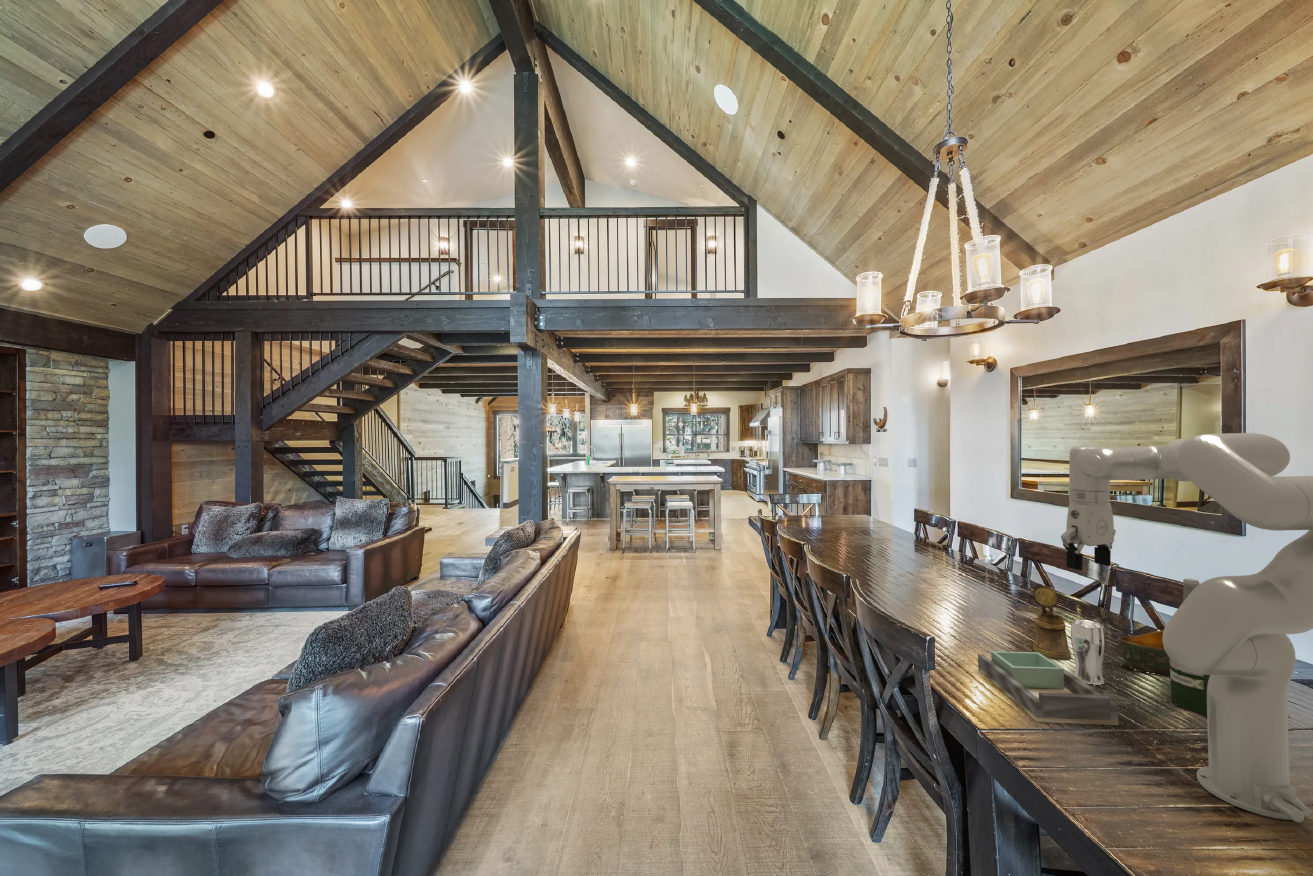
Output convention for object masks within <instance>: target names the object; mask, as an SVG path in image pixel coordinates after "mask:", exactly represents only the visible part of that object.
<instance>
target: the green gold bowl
mask: <svg viewBox="0 0 1313 876" xmlns="http://www.w3.org/2000/svg"><path fill="white" fill-rule="evenodd" d="M1163 631H1164V629H1163V630H1159V631H1152V632H1147V633H1144V634H1139V635H1138V634H1137V635H1122V636H1118V637H1117V646H1118V651H1119V653H1120V655H1121V658H1122V659H1123V660H1124V662H1125V663H1126V664H1128V667H1129V668H1130V667H1131V668H1133V669H1136V670H1140V671H1143V672H1149V673H1155V674H1160V675H1159V676H1164V675H1170V658H1169V656H1168V655H1167V653H1166V651H1165V649H1164V646H1163V639H1162V638H1163ZM1131 668H1130V669H1131ZM1133 669H1132V670H1133ZM1155 674H1154V675H1155Z"/></svg>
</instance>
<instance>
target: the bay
mask: <svg viewBox="0 0 1313 876" xmlns="http://www.w3.org/2000/svg"><path fill="white" fill-rule="evenodd" d="M1046 658H1047V657H1046ZM1048 659H1049V660H1051V658H1048ZM1051 661H1052V662H1054V661H1053V660H1051ZM1054 663H1055V662H1054ZM1055 664H1057V663H1055ZM1057 665H1058V664H1057ZM1058 666H1060V665H1058ZM977 667H978V669H977V670H978V672H980V673H981V674H982V675H983V676H984V677H985V678H986V677H987V678H986V679H988V680H989V681H990V682H991V683H992V684H993V685H994V684H995V685H994V686H995V687H996V688H998V690H1000V691H1001V692H1002V691H1003V692H1002V693H1003V694H1004V693H1005V694H1004V695H1006V697H1008V698H1009V697H1010V698H1011V699H1012V700H1011V699H1010V698H1009V699H1010V700H1011V701H1012V702H1013V701H1014V702H1013V703H1015V704H1016V705H1017V706H1018V707H1019V708H1020V709H1021V710H1022V711H1024V712H1025V713H1026V715H1028V716H1029V717H1031V719H1033V720H1034V721H1035V722H1036V723H1056V724H1057V723H1059V724H1076V725H1077V724H1082V725H1102V724H1103V726H1104V725H1105V726H1107V725H1108V726H1119V704H1117V703H1116V702H1114V701H1113V700H1111V697H1109V696H1108V695H1107V694H1102V693H1101V692H1100V691H1098V690H1096V689H1094V688H1093V687H1092V686H1091V685H1089V684H1086V683H1084V682H1083V681H1081V680H1080V679H1078V678H1077V677H1075V676H1074V674H1072V673H1071V672H1069V671H1068V670H1066V669H1064V668H1063V667H1061V666H1060V667H1061V668H1063V670H1064V689H1052V688H1025V687H1023V686H1022V685H1021V684H1020V683H1019V682H1017V681H1016V680H1015V679H1014V678H1012V677H1011V676H1010V675H1009V674H1007V673H1006V672H1005V671H1004V670H1002V669H1001V668H1000V667H999V666H998V665H996V664H995V663H994V662H993V661H991V659H990V658H989V657H988V656H986V654H984V653H978V654H977Z"/></svg>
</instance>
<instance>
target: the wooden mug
mask: <svg viewBox="0 0 1313 876" xmlns="http://www.w3.org/2000/svg"><path fill="white" fill-rule="evenodd" d="M1033 597H1034V601H1035V603H1036V604H1038V605H1039V606H1040V607H1041V613H1038V614H1037V618H1036V620H1035V624H1036V629H1035V630H1036V631H1035V638H1034V642H1033V644H1032V650H1033V652H1039V653H1040V654H1042V655H1043V656H1045V657H1047V658H1048V659H1050V660H1051V659H1052V660H1061V661H1065V660H1070V659H1072V653H1071V650H1070V647H1069V643H1068V638H1067V637H1068V636H1067V634H1066V622H1065V621H1064V617H1062V616H1061V615H1058V614H1057V615H1056V614H1054V609H1053V608H1055V607H1056V606H1058V604H1059V595H1058V593H1057V592H1056V591H1055V590H1053V589H1052V588H1051V587H1049V586H1047V585H1042V586H1040V587H1038V588H1037V589H1035V591H1034V595H1033Z"/></svg>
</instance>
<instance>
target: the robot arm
mask: <svg viewBox="0 0 1313 876" xmlns="http://www.w3.org/2000/svg"><path fill="white" fill-rule="evenodd" d="M1068 457H1069V463H1068V465H1069V468H1068V469H1069V473H1068V474H1069V476H1068V477H1069V478H1068V481H1069V482H1068V485H1069V489H1068V494H1069V495H1068V497H1069V498H1068V502H1069V504H1068V509H1067V517H1066V529H1065V531H1064V532H1063V533H1062V534H1061V536H1060V539H1061V542H1062V545H1063V548H1064V551H1065V552H1066V568H1069V569H1073V570H1075V571H1083V553H1082V550H1083V548H1084V546H1087V547H1094V550H1093V552H1094V559H1093V560H1094V561H1093V562H1094V563H1095V564H1097V565H1102V566H1105V567H1111V562H1112V561H1111V558H1112V555H1111V553H1112V549H1113V543H1114V542H1115V535H1116V529H1115V523H1114V514H1113V509H1112V505H1111V502H1110V501H1111V499H1110V498H1111V481H1125V480H1126V481H1127V480H1131V481H1135V480H1137V481H1138V480H1140V481H1141V480H1171V479H1172V480H1175V481H1180V482H1191V483H1192V484H1193V485H1194V486H1196V487H1197V488H1198V489H1200V491H1202V492H1203V493H1204V494H1206V495H1207V496H1208V497H1210V498H1211V499H1212V500H1214V501H1215V502H1216V503H1217V504H1219V505H1220V506H1221V507H1222V508H1224V510H1226V511H1228V512H1229V513H1230V514H1231V515H1233V517H1235V518H1237V519H1238V520H1240V521H1241V522H1243V523H1245V524H1247V525H1249V526H1251V527H1255V528H1258V529H1262V530H1268V531H1275V532H1276V531H1279V532H1280V531H1282V532H1283V531H1306V533H1304V534H1303V535H1302V536H1301V535H1300V537H1297V538H1296V539H1295V540H1293V541H1291V542H1290V543H1288V544H1286V545H1285V546H1283V548H1281V549H1280V550H1279V551H1278V552H1277V553H1276V554H1275V556H1273V558H1272V560H1270V562H1269V563H1268V564H1266V566H1264V568H1263V569H1261V570H1259V572H1256V573H1253V574H1246V575H1226V576H1224V575H1223V576H1217V577H1216V576H1215V577H1212V578H1209V579H1207V580H1204V581H1203V582H1201V583H1200V584H1199V585H1198V586H1196V587H1195V588H1194V589H1193V590H1192V592H1191V593H1190V594H1189V595H1188V597H1187V598H1186V599H1185V600H1184V602H1183V601H1182V603H1181V604H1180V606H1179V607H1178V608H1177V610H1176V611H1175V612H1173V613H1174V614H1173V615H1172V616H1171V618H1170V619H1169V620H1168V621H1167V623H1166V625H1165V627H1164V629H1163V630H1164V631H1163V630H1162V631H1163V638H1162V639H1163V646H1164V649H1165V651H1166V653H1167V655H1168V656H1169V658H1170V659H1171V660H1172V661H1173V662H1174V663H1175V664H1177V665H1178V666H1180V667H1181V668H1183V669H1185V670H1187V671H1190V672H1193V673H1197V674H1203V675H1210V677H1209V680H1208V685H1207V714H1206V715H1207V716H1206V717H1207V718H1206V719H1207V750H1208V751H1207V752H1208V753H1207V755H1208V766H1203V767H1200V768H1198V770H1196V771H1197V772H1196V779H1197V781H1198V783H1199V784H1200V785H1201V787H1202V788H1204V789H1205V790H1206V791H1207V792H1209V793H1211V795H1214V796H1215V797H1216V798H1218V799H1221V800H1222V801H1224V802H1225V803H1228V804H1231V805H1233V806H1234V807H1236V808H1240V809H1242V810H1244V811H1247V812H1249V813H1250V812H1251V813H1254V814H1255V815H1260V816H1263V817H1268V818H1271V819H1280V820H1288V821H1294V822H1296V823H1302V822H1303V821H1304V820H1305V817H1310V816H1311V815H1312V814H1313V811H1312V809H1311V808H1310V807H1308V806H1307V805H1305V804H1304V803H1303V802H1302V801H1301V800H1300V798H1298V797H1297V789H1296V788H1295V787H1293V786H1292V785H1290V756H1289V755H1290V754H1289V752H1290V751H1289V747H1290V746H1289V690H1290V683H1291V680H1292V676H1293V673H1294V670H1295V669H1294V668H1295V665H1296V658H1297V657H1296V650H1295V646H1294V644H1293V642H1292V641H1291V639H1290V637H1288V635H1297V634H1298V635H1299V634H1304V633H1307V632H1309V631H1311V630H1313V475H1296V476H1277V475H1278V474H1280V473H1282V472H1283V471H1285V469H1286V468H1287V466H1288V465H1289V464H1290V462H1291V455H1290V451H1289V449H1288V447H1287V446H1286V444H1284V443H1283V442H1281V441H1280V440H1279V439H1277V438H1275V437H1272V436H1270V435H1267V434H1263V433H1254V432H1252V433H1251V432H1239V433H1237V432H1236V433H1235V432H1234V433H1232V432H1231V433H1227V432H1226V433H1203V434H1198V435H1195V436H1192V437H1187V438H1176V439H1174V440H1173V439H1172V440H1171V441H1169V442H1167V443H1166V444H1164V445H1148V446H1147V445H1145V446H1115V447H1114V446H1107V447H1105V446H1099V445H1098V446H1097V445H1077V446H1073V447H1072V448H1071V449H1070V450H1069V456H1068ZM1076 545H1077V546H1076Z"/></svg>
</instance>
